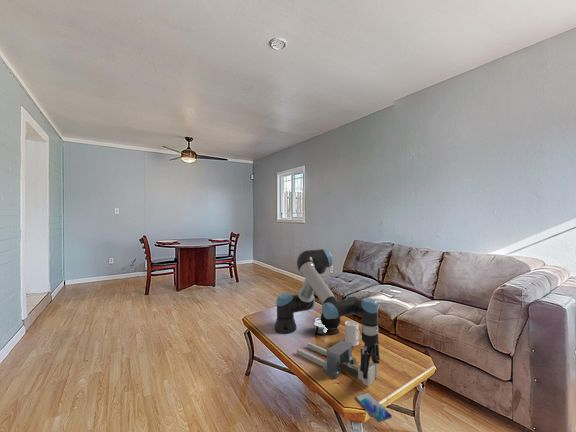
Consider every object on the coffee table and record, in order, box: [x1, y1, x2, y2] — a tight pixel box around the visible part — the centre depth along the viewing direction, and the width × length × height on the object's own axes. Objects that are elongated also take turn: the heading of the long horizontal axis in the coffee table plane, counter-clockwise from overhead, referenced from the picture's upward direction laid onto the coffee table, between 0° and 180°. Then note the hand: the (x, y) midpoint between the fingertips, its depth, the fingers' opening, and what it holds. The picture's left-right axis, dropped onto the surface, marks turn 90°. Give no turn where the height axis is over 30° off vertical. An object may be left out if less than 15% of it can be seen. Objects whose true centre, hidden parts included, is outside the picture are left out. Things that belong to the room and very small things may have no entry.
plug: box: [341, 362, 376, 386], centre depth 130 cm, size 16×5×7 cm, turn 45°
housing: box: [321, 339, 357, 379], centre depth 137 cm, size 8×19×10 cm, turn 136°
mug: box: [344, 320, 362, 347], centre depth 160 cm, size 12×8×12 cm
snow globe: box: [320, 311, 341, 336], centre depth 178 cm, size 13×13×15 cm
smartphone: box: [354, 392, 393, 423], centre depth 108 cm, size 7×1×15 cm
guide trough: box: [296, 342, 327, 368], centre depth 146 cm, size 22×11×2 cm, turn 46°
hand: (370, 380), depth 125 cm, fingers open, 8 cm apart
